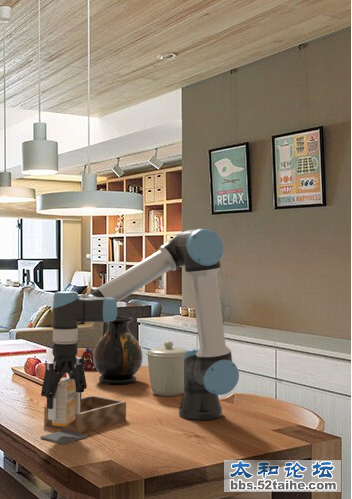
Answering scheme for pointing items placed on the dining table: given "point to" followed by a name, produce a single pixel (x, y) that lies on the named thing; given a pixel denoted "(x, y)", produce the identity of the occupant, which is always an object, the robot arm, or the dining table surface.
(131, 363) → the black painted vase
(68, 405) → the supplement box
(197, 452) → the dining table surface
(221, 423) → the dining table surface
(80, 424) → the crate
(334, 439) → the dining table surface
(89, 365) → the toy fire truck
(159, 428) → the dining table surface
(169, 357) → the canister
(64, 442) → the mat
